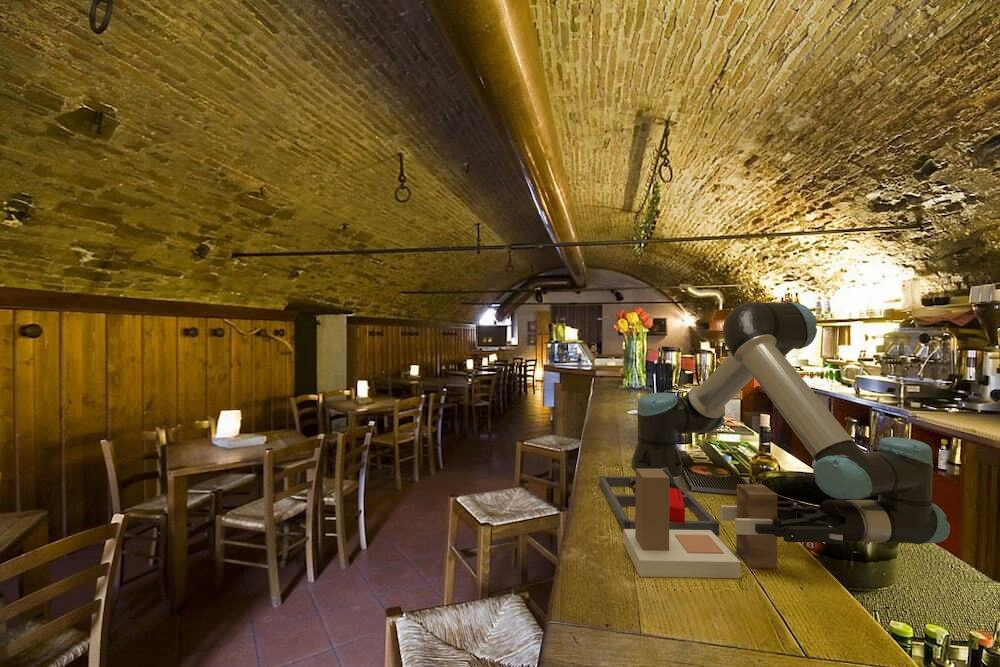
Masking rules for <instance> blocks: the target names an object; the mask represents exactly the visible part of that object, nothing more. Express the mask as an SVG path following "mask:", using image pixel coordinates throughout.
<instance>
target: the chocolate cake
mask: <svg viewBox="0 0 1000 667" xmlns="http://www.w3.org/2000/svg"><path fill="white" fill-rule="evenodd" d="M662 470H663V471H664V472H665V473H666V474H667V475H668V476H669V477H670V488H673V487H674V479H675V478H674V476H672V474H671V473H670V472H669V468H668V467H664V468H662ZM673 478H674V479H673ZM628 482H629V485H630V486H631V487H630V488H632V490H633V491H632V492H633V495H636V477H633V478H631V479H629V481H628Z"/></svg>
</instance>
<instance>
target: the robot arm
mask: <svg viewBox="0 0 1000 667" xmlns="http://www.w3.org/2000/svg"><path fill="white" fill-rule="evenodd" d="M817 325H818V324H817V319H816V317H815V314H814V312H812V311H811V309H810V308H809V307H807V306H806V305H804V304H802V303H797V302H791V301H783V302H781V301H779V302H771V301H770V302H765V301H764V302H761V301H760V302H759V301H750V302H745V303H741V304H739V305H737V306H736V307H734V308H733V309H732V310H730V312H729V313H728V314H727V316H726V317H725V320H724V322H723V325H722V336H723V341H724V343H725V346H726V348H727V349H728V351H729V354H728V355H727V356H726V357H725V358H724V360H722V362H721V363H720V364H719V365H718V366H717V367H716V369H715V370H713V372H712V373H711V374H710V375H709V376H708V377H707V379H705V381H703V383H702V384H701V385H697V386H694V387H692V388H690V390H689V391H687V393H686V394H685V395H683V396H677V395H676V394H675V393H672V392H652V393H647V394H644V395H642V396H641V397H640V398H639V399H638V402H637V403H638V404H637V444H636V446H635V449H634V453H633V455H632V458H631V467H632V469H633V470H635V471H636V469H662V468H664V467H668V468H669V472H670V473H671V474H672V476H673V477H674V476H678V475H681V474H682V473H683V472H682V469H683V470H684V468H683V466H684V464H683V461H682V458H681V455H680V451H679V449H678V446H677V445H678V444H677V443H678V435H684V434H698V433H700V434H707V433H711V432H714V431H717V430H718V429H719V428H721V427H722V425H724V421H725V418H724V417H726V405H727V404H728V403H729V402H730V401H731V400H732V399H733V398H734V397H735V396H736V395H737V394H738V393H739V392H740V391H741V390H742V389H743V388H744V387H745V386H746V385H747V384H748V383H749V382H751V380H752V379H755V381H756V382H757V383H758V385H759V386H760V387H761V389H762V390H763V392H764V393H765V394H766V395H767V397H768V399H770V401H771V402H772V403H773V405H774V407H775V408H776V409H777V410H778V412H779V413H780V414H781V416H782V417H783V419H785V422H787V424H788V425H789V427H790V428H791V429H792V431H793V432H794V434H795V435H796V436H797V438H798V439H799V440H800V442H801V444H803V445H804V447H805V449H807V451H808V452H809V454H810V455H811V456H812V458H813V459H814V461H815V464H814V466H813V469H812V471H813V472H812V473H813V475H814V478H815V480H814V481H815V484H816V485H817V486H818V488H819V489H820V490H821V491H822V492H823V493H824V494H826V495H827V496H829V497H831V498H833V499H826V500H823V502H821V503H820V505H819V506H818V507H815V506H809V505H806V506H801V505H799V504H800V502H799V501H798V500H796V499H792V500H791V499H790V500H778V507H777V518H776V517H775V518H774V524H773V520H771V519H750V518H737V505H723V504H722V505H720V520H721V521H730V522H731V521H734V533H735V535H736V534H744V535H775V536H776V537H777V538H783V541H784V542H786V543H821V544H822V543H824V544H825V543H829V544H836V545H843V544H844V543H864V544H865V545H869V544H870V543H875V544H876V543H881V544H882V543H883V544H884V543H887V544H891V543H892V544H912V545H913V544H914V545H925V544H926V545H927V544H935V543H936V544H938V543H941V542H943V541H945V540H946V539H947V538H948V537H949V536H950V532H951V526H950V522H948V520H947V514H945V512H944V511H943V509H942V508H940V507H939V506H938V505H936V503H933V502H932V498H933V496H932V495H933V473H934V467H935V466H934V464H933V463H934V462H933V461H934V460H933V450H932V448H931V446H930V445H928V444H927V443H925V442H923V441H919V440H916V439H911V438H906V437H898V436H895V437H894V436H887V437H882V438H881V439H880V440H879V441H878V442H879V443H878V447H877V451H873V452H872V451H871V452H870V451H869V452H864V451H863V450H862V448H861V447H860V446H859V445H858V443H856V442H855V441H854V439H853V438H852V437H851V435H850V434H849V433H848V431H846V429H845V428H844V427H843V426H842V425H841V423H840V422H839V421H838V420H837V419H836V417H835V416H834V415H833V414H832V413H831V411H830V410H829V409H828V407H827V406H826V405H825V404H824V402H822V400H821V399H820V398H819V397H818V395H817V394H816V393H815V392H814V390H812V388H811V387H810V386H809V385H808V383H807V382H806V381H805V380H804V378H803V377H802V376H801V375H800V374H799V372H798V371H797V370H796V369H795V368H794V366H792V364H791V363H790V362H789V360H788V359H787V358H786V356H787V355H788V354H789V353H790V352H791V351H793V350H794V349H795V350H802V349H803V348H804V349H805V348H806V347H809V346H810V345H811V344H812V343H813V342H814V340H815V339H816V337H817V332H818V328H817ZM876 496H878V499H873V500H872V499H866V498H870V497H876Z"/></svg>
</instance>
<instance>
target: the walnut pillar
mask: <svg viewBox="0 0 1000 667" xmlns="http://www.w3.org/2000/svg"><path fill="white" fill-rule="evenodd" d="M778 496H779V495H778V493H776V492H775V491H773V490H772V489H770V488H768V487H767V486H766V485H764V484H756V483H755V484H754V483H753V484H744V483H742V484H741V483H739V484H738V483H737V484H736V506H737V518H750V519H771V520H773V524H774V518H775V517H776V518H777V507H778V501H779V497H778ZM735 535H736V537H735V538H736V539H735V540H736V542H735V544H736V545H735V546H736V548H735V550H736V552H735V554H736V555H737V556H738V557H739V558H740V559H741V560H742V561H743V562H744V564H745V565H746V566H748V568H750V569H754V568H755V569H757V568H758V569H765V568H766V569H777V568H778V566H777V564H778V562H777V561H778V537H776V536H775V535H744V534H736V533H735Z"/></svg>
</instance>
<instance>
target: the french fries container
mask: <svg viewBox="0 0 1000 667" xmlns="http://www.w3.org/2000/svg"><path fill="white" fill-rule="evenodd" d="M685 519H686V507H684V503H683V499H682V494H681V490H680V489H677V488H670V510H669V521H671V522H679V523H683V526H684V527H685V521H686V520H685Z"/></svg>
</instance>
